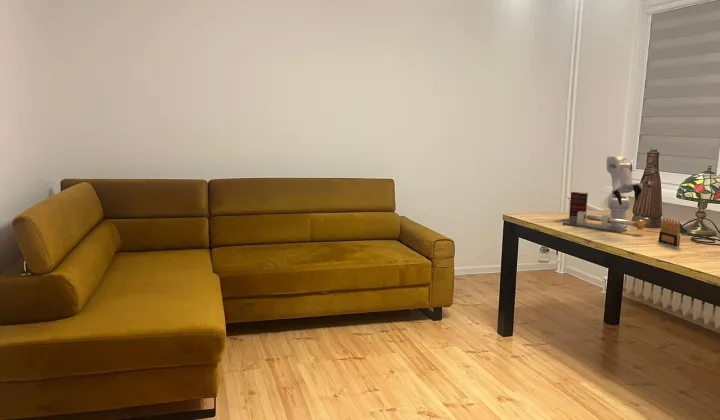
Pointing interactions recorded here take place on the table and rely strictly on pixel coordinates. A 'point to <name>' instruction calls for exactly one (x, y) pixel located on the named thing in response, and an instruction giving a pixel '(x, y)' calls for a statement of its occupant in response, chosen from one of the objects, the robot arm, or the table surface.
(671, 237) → the ammunition clip
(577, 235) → the table surface
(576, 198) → the supplement box
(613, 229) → the plate
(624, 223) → the shaft
